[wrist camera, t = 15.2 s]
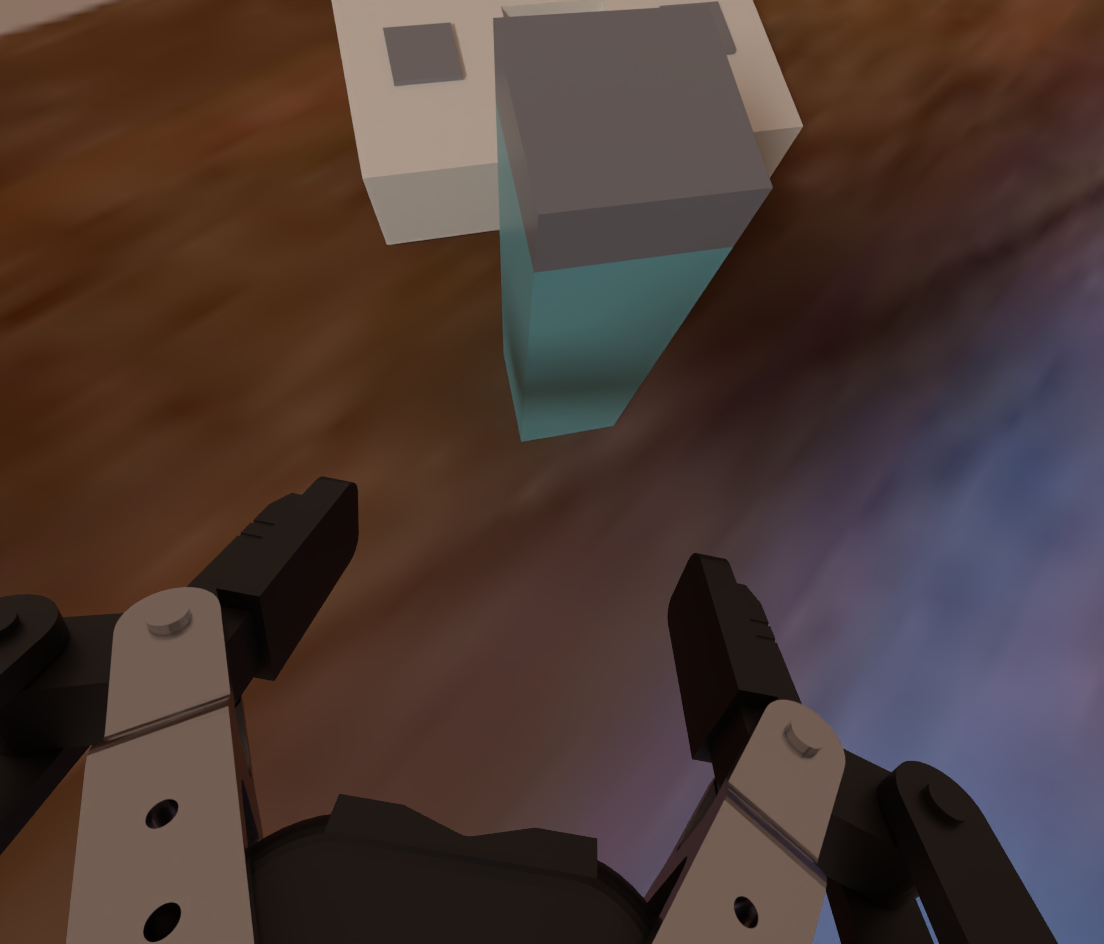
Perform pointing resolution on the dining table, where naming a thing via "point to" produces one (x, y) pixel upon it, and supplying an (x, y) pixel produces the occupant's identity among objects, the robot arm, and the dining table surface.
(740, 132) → the plug
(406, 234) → the block
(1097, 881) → the dining table surface
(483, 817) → the dining table surface
